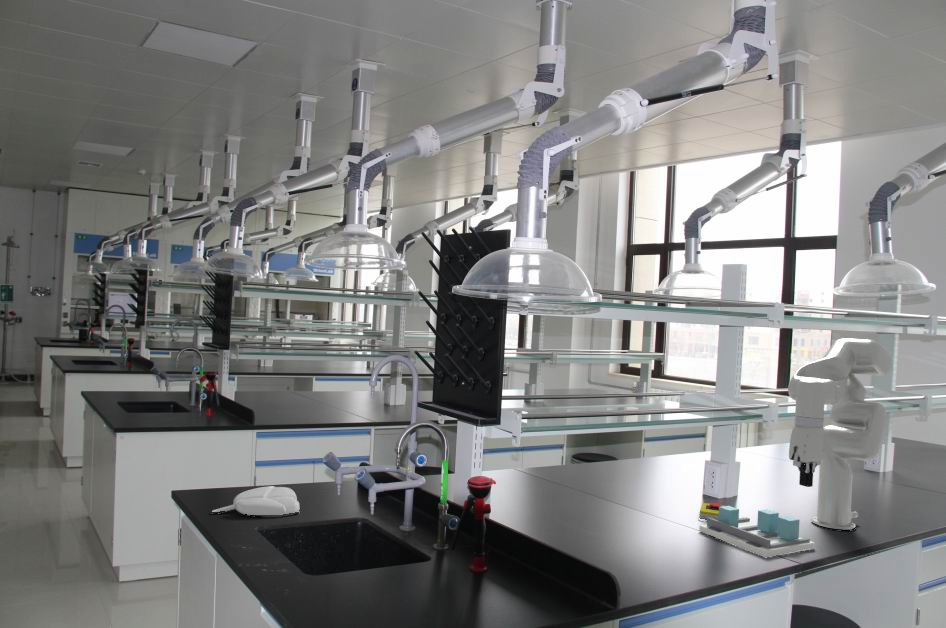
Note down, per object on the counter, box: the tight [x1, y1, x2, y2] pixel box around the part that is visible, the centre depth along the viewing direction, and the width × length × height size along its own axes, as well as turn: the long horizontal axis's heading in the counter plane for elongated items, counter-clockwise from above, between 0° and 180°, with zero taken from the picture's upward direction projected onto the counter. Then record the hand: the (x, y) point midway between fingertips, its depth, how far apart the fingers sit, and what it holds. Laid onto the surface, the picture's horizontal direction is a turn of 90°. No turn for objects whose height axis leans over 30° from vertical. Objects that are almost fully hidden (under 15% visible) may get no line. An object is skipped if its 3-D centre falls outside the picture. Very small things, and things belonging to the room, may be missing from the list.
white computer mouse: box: [211, 485, 300, 516], centre depth 216 cm, size 7×17×25 cm
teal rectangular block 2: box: [777, 515, 800, 540], centre depth 205 cm, size 4×4×6 cm
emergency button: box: [698, 502, 723, 520], centre depth 232 cm, size 9×4×15 cm
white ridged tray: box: [698, 517, 816, 558], centre depth 209 cm, size 20×24×4 cm
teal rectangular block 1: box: [718, 505, 740, 528], centre depth 214 cm, size 4×4×6 cm
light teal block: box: [757, 508, 780, 533], centre depth 211 cm, size 4×4×6 cm
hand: (805, 485), depth 208 cm, fingers closed
